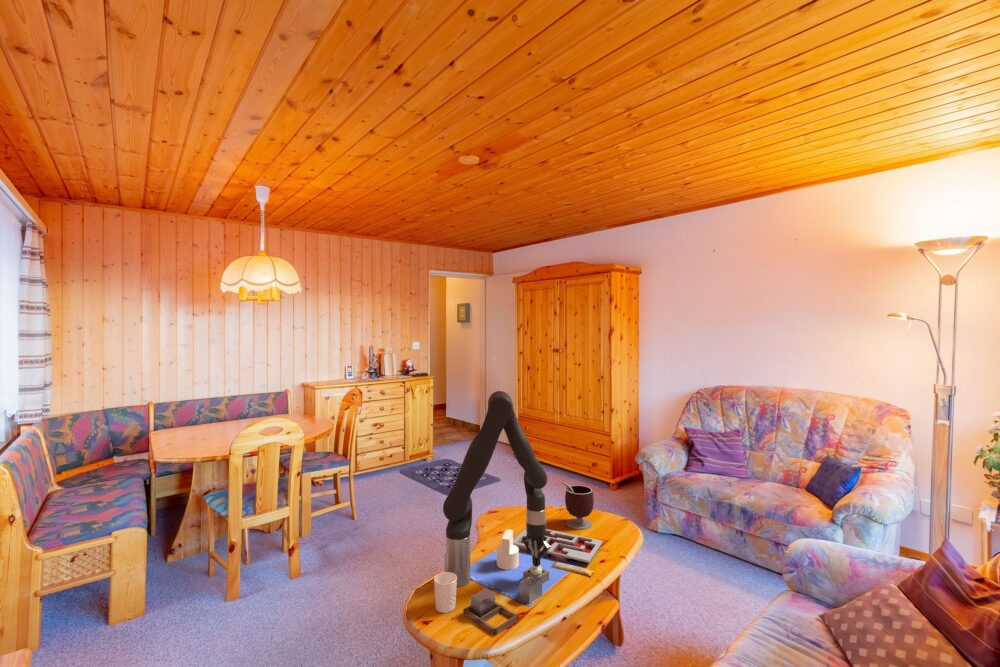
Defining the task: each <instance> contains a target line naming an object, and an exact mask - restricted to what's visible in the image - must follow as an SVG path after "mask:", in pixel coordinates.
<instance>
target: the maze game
mask: <svg viewBox="0 0 1000 667" xmlns="http://www.w3.org/2000/svg"><path fill="white" fill-rule="evenodd" d="M525 536H527V532H526V528H525V529H524V530H522V531H521V532H520V533H519V534H518V535H517V536H516V537H515V538H513V545H515V546H517V547H518V548H519V551H523V552H524V551H525V552H528V551H527V548H526V546H525V544H524V542H523V540H522V538H523V537H525ZM545 538H546V543H547V544H548V545H550V546H551V548H550V549H549V551H548V552H547V553H546V554H545V555H544V556H545V557H549V556H550V557H551V559H554V560H557V561H558V560H559V561H563V562H568V560H570V559H572V560H576V561H579V562H584V563H587V564H588V563H590V562H591V561H592V559H593V557H595V555H596V554H597V552H598V551H599V549H600V547H601V545H602V544H603V541H602V540H599V539H594V538H590V537H585V536H581V535H576V534H570V533H567V532H562V531H558V530H553V529H548V528H546V533H545ZM529 548H530V546H529ZM542 550H543V547H542Z"/></svg>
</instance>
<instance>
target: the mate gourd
mask: <svg viewBox="0 0 1000 667" xmlns="http://www.w3.org/2000/svg"><path fill="white" fill-rule="evenodd" d="M561 484H563V485H564V486H565V487H566V488H565V489H566V490H565V495H564V503H565V508H566V511H567V512H568V513H569V515H570V516H573V517H574V518H573V517H572V518H570V519H568V520H567V521H566V525H567V526H568V527H569V528H570V529H573V530H579V531H581V530H588V529H591V528H592V527H593V522H592V521H591V520H589V519H587V517H588V516H590V514H591V513H592V512H593V510H594V500H595V498H594V492H593V489H592V488H591V487H590V486H586V485H582V484H581V485H580V484H578V485H577V484H575V485H569V484H568V483H566V482H564V481H562V482H561Z"/></svg>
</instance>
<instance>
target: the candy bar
mask: <svg viewBox="0 0 1000 667" xmlns="http://www.w3.org/2000/svg"><path fill="white" fill-rule="evenodd" d="M552 568H555V569H559V570H563V571H567V572H571V573H574V574H578V575H582V576H587V577H588V576H590V577H591V576H592V575H593V573H595V570H591V569H589V568H585V567H581V566H577V565H572V564H568V563H563V562H560V561H559V562H558V560H556V561H553V564H552Z"/></svg>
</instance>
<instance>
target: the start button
mask: <svg viewBox="0 0 1000 667" xmlns="http://www.w3.org/2000/svg"><path fill="white" fill-rule="evenodd" d="M542 568H543V566H541V564H540V565H539V566H538V567H535V566H533V564H532V565H531V566H530V573H531V574H533V575H535V576H539V575H541V574H542Z"/></svg>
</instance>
